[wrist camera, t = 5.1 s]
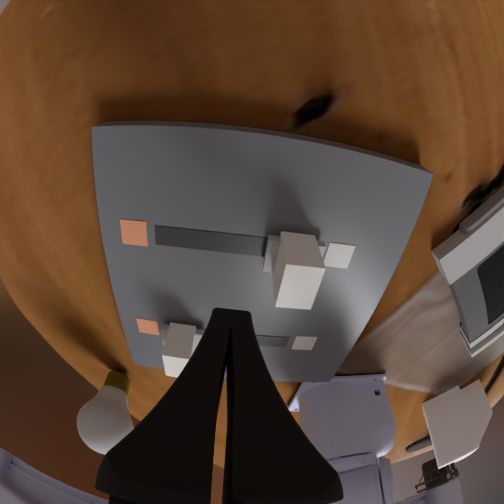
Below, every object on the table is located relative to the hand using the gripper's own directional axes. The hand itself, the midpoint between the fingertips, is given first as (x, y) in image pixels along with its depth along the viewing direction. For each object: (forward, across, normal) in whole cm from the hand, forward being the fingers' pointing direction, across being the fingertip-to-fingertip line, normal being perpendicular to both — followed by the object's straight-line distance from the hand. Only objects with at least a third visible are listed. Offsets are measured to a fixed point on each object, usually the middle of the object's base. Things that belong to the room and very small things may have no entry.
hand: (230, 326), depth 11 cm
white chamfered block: (+8, -39, +27) cm, 48 cm away
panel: (+7, -1, +4) cm, 8 cm away
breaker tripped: (+5, -3, 0) cm, 6 cm away
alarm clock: (+8, -25, -2) cm, 26 cm away
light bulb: (+8, +11, +19) cm, 23 cm away
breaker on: (+5, +3, +8) cm, 10 cm away
